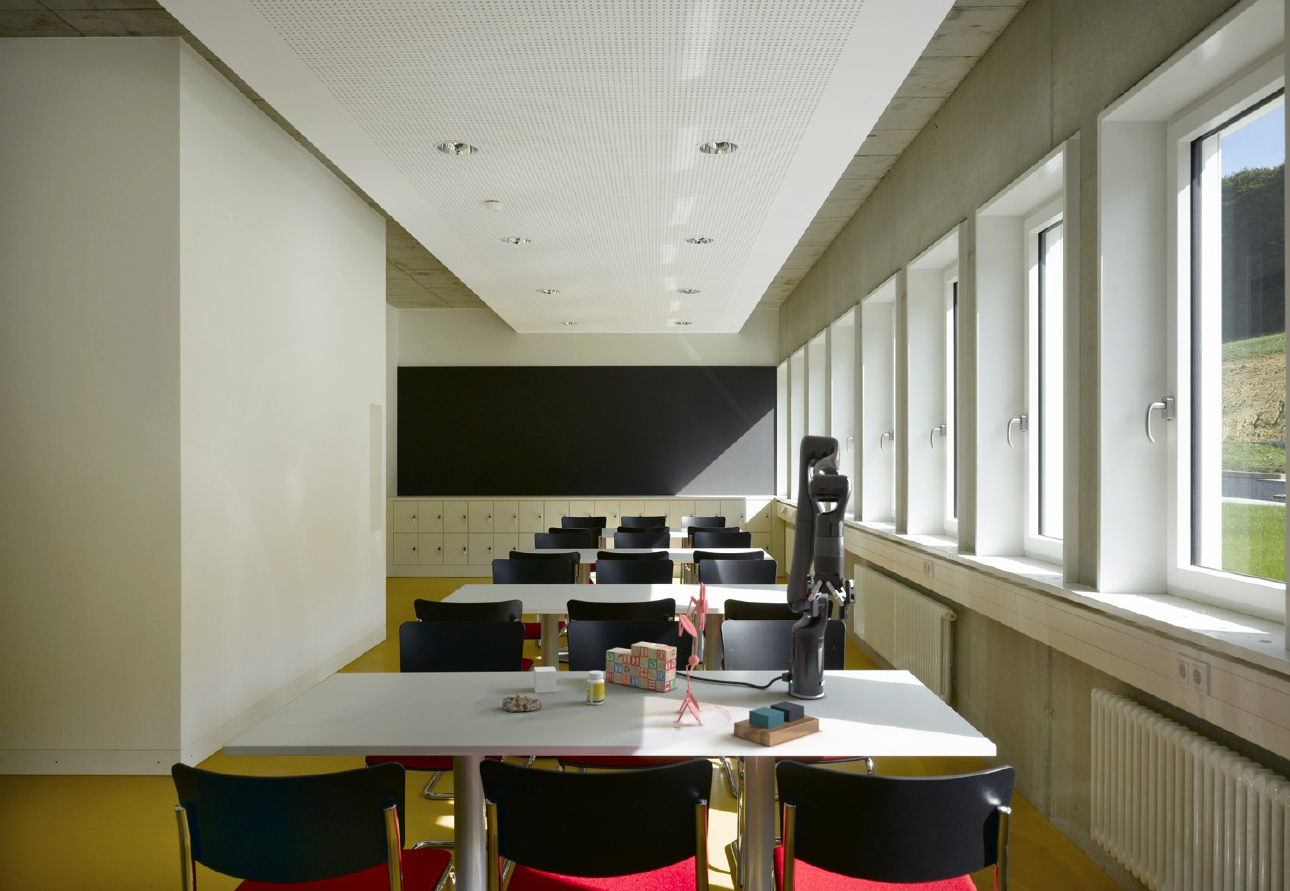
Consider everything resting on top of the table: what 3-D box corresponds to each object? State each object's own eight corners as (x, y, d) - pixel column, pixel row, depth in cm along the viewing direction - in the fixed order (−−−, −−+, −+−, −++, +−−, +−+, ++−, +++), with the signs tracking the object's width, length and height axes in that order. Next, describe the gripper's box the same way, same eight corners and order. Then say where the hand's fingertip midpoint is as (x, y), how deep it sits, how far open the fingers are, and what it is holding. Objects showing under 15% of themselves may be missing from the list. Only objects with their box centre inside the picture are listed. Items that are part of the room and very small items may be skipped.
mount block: (733, 735, 211) (734, 722, 211) (783, 720, 225) (783, 708, 225) (769, 746, 203) (769, 733, 203) (819, 730, 216) (819, 718, 216)
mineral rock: (497, 703, 226) (505, 688, 234) (498, 718, 228) (505, 702, 235) (538, 706, 226) (544, 690, 234) (538, 721, 227) (544, 705, 235)
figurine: (672, 731, 213) (674, 589, 214) (677, 703, 239) (679, 576, 240) (734, 734, 212) (737, 591, 213) (733, 705, 237) (735, 578, 238)
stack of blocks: (604, 681, 262) (605, 640, 262) (616, 677, 267) (617, 637, 267) (665, 692, 250) (666, 649, 250) (676, 688, 255) (676, 646, 256)
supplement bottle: (607, 702, 239) (607, 671, 239) (599, 706, 235) (599, 675, 235) (591, 699, 241) (592, 669, 241) (583, 703, 237) (584, 672, 237)
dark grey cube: (769, 729, 217) (770, 705, 217) (784, 724, 221) (785, 701, 221) (789, 734, 212) (789, 710, 213) (803, 730, 216) (804, 706, 217)
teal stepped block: (748, 735, 211) (749, 710, 211) (764, 730, 215) (764, 706, 215) (768, 741, 207) (768, 716, 207) (783, 736, 211) (783, 711, 211)
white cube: (535, 693, 247) (535, 671, 247) (533, 687, 253) (534, 667, 253) (556, 692, 248) (556, 671, 248) (554, 686, 254) (554, 666, 254)
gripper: (862, 555, 215) (861, 621, 214) (814, 550, 225) (814, 613, 225) (844, 557, 209) (843, 624, 209) (797, 552, 220) (796, 616, 220)
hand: (828, 618), depth 217 cm, fingers open, 8 cm apart
